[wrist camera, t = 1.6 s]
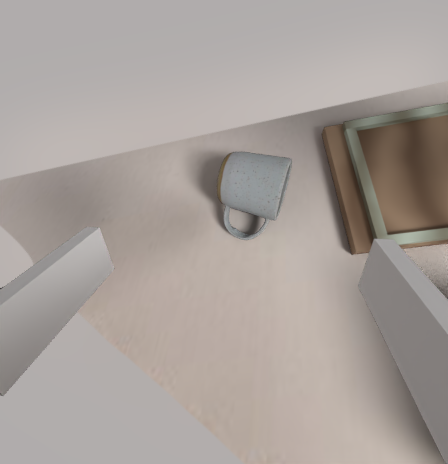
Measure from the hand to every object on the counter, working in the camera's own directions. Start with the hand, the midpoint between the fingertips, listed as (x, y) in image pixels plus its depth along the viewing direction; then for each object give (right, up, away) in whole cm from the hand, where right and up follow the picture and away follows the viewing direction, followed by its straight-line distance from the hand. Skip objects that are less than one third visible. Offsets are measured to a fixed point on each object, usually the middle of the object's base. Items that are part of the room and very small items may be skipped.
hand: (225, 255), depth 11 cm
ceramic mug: (+4, +5, +21) cm, 22 cm away
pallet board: (+25, +8, +19) cm, 32 cm away
